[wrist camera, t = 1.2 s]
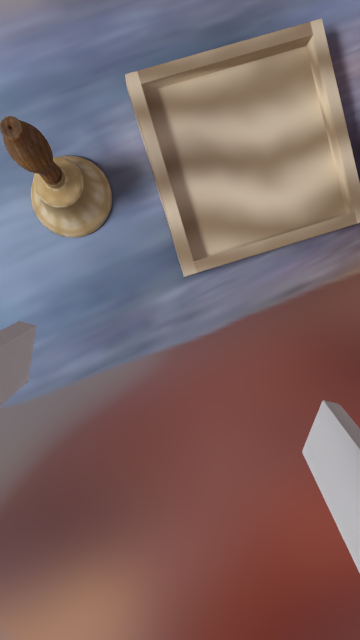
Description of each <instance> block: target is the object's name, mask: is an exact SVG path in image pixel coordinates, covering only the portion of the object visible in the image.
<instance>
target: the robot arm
mask: <svg viewBox="0 0 360 640" xmlns="http://www.w3.org/2000/svg"><path fill="white" fill-rule="evenodd" d="M35 331H36V326H35V325H31V324H27V323H24V322H20V321H19V322H17V323H15V324H13V325H11V326H9V327H7V328H5V329H3V330H1V331H0V406H1V405H2V404H3V403H4V402H5V401H6V400H7V399H9V398H10V397H11V396H12V395H13V394H14V393H15V392H16V391H18V390H19V389H20V388H21V387H22V386H23V385H24V384H26V383H27V382H28V377H29V370H30V364H31V357H32V351H33V344H34V338H35ZM302 453H303V455H304V457H305V459H306V461H307V463H308V465H309V467H310V470H311V472H312V474H313V476H314V478H315V480H316V482H317V484H318V486H319V488H320V491H321V493H322V495H323V497H324V499H325V501H326V503H327V505H328V508H329V510H330V512H331V514H332V516H333V518H334V520H335V522H336V524H337V526H338V528H339V531H340V533H341V535H342V537H343V539H344V541H345V543H346V545H347V547H348V549H349V552H350V554H351V556H352V558H353V560H354V562H355V564H356V566H357V568H358V571H359V573H360V429H359V427H358V426H357V425H356V424H355V423H354V421H353V420H352V419H351V418H350V417H349V415H348V414H347V413H346V412H345V411H344V409H343V408H342V407H341V406H340V404H336V403H332V402H329V401H324V400H323V401H322V404H321V406H320V409H319V411H318V414H317V416H316V418H315V421H314V424H313V426H312V428H311V431H310V433H309V436H308V438H307V441H306V443H305V446H304V448H303V451H302Z"/></svg>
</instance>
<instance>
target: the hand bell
mask: <svg viewBox="0 0 360 640" xmlns="http://www.w3.org/2000/svg"><path fill="white" fill-rule="evenodd" d="M0 130H1V132H2V135H3V140H4V143H5V146H6V149H7V151H8V153H9V154H10V156H11V157H12V158H13V159H14V160H15V161H16V162H17V163H18V164H19V165H20V166H21V167H23V168H24V169H26V170H28V171H30V172H33V173H34V179H33V183H32V188H31V202H32V206H33V209H34V211H35V214H36V215H37V217H38V219H39V220H40V221H41V223H42V224H43V225H44V226H45V227H46V228H48V229H49V230H50V231H52V232H54V233H56V234H58V235H61V236H64V237H82V236H86V235H88V234H91V233H93V232H94V231H96V230H97V229H98V228H100V227H101V226H102V224H103V223H104V222H105V221H106V219H107V217H108V215H109V213H110V209H111V206H112V192H111V187H110V184H109V182H108V180H107V178H106V176H105V174H104V173H103V172H102V171H101V169H100V168H99V167H98V166H96V165H95V164H94V163H92V162H91V161H89V160H87V159H84V158H82V157H78V156H61V157H53V154H52V151H51V148H50V146H49V144H48V142H47V140H46V139H45V137H44V136H43V135H42V133H41V132H40V131H39V130H38V129H36V128H35V127H34V126H32V125H30V124H28V123H26V122H23V121H20V120H18V119H17V118H15V117H13V116H8V117H5V118H4V119H3V120H2V121H1V122H0Z"/></svg>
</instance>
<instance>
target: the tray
mask: <svg viewBox="0 0 360 640" xmlns="http://www.w3.org/2000/svg"><path fill="white" fill-rule="evenodd" d="M125 77H126V84H127V90H128V93H129V96H130V100H131V103H132V106H133V109H134V113H135V116H136V119H137V123H138V126H139V129H140V133H141V136H142V139H143V143H144V146H145V149H146V153H147V156H148V159H149V163H150V166H151V169H152V173H153V176H154V179H155V182H156V186H157V189H158V192H159V196H160V199H161V202H162V206H163V209H164V212H165V216H166V219H167V222H168V226H169V229H170V232H171V236H172V239H173V242H174V245H175V249H176V252H177V255H178V259H179V262H180V265H181V269H182V272H183V275H184V277H185V276H188V275H191V274H195V273H198V272H201V271H204V270H208V269H211V268H214V267H217V266H221V265H224V264H227V263H230V262H234V261H237V260H240V259H243V258H247V257H250V256H253V255H256V254H260V253H263V252H266V251H269V250H273V249H276V248H279V247H282V246H286V245H289V244H292V243H295V242H299V241H302V240H305V239H308V238H312V237H315V236H318V235H321V234H325V233H328V232H331V231H334V230H338V229H341V228H344V227H347V226H351V225H354V224H357V223H360V183H359V178H358V174H357V170H356V165H355V161H354V157H353V152H352V148H351V144H350V139H349V135H348V131H347V126H346V122H345V117H344V113H343V109H342V104H341V100H340V96H339V91H338V87H337V83H336V78H335V74H334V70H333V65H332V61H331V57H330V52H329V48H328V44H327V39H326V35H325V31H324V26H323V22H322V19H318V20H315V21H311V22H308V23H304V24H301V25H297V26H294V27H290V28H287V29H283V30H280V31H276V32H273V33H269V34H266V35H262V36H259V37H255V38H252V39H248V40H245V41H241V42H238V43H234V44H230V45H227V46H223V47H220V48H216V49H213V50H209V51H206V52H202V53H199V54H195V55H192V56H188V57H185V58H181V59H178V60H174V61H171V62H167V63H164V64H160V65H157V66H153V67H150V68H146V69H143V70H139V71H135V72H132V73H128V74H125Z"/></svg>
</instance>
